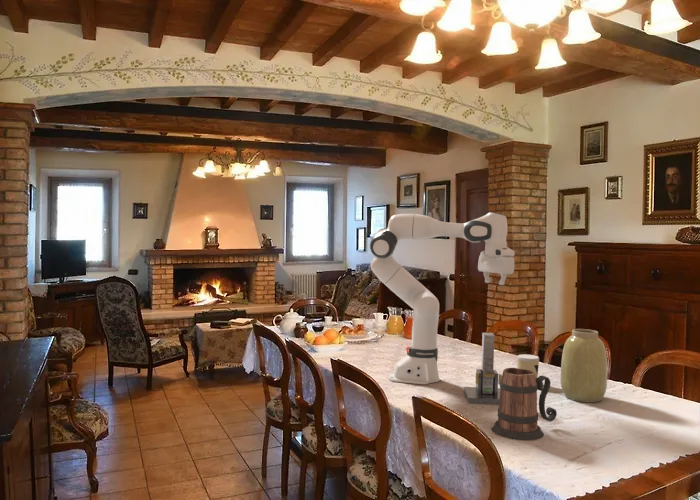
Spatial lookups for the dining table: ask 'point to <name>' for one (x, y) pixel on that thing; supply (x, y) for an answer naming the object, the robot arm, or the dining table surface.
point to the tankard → (521, 405)
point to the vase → (584, 366)
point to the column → (487, 362)
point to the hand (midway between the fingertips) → (494, 283)
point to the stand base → (477, 396)
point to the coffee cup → (528, 363)
